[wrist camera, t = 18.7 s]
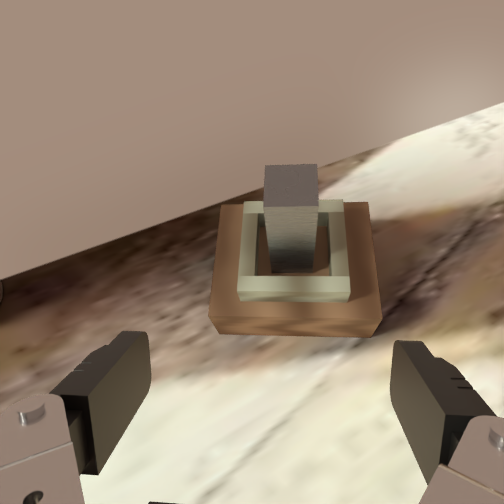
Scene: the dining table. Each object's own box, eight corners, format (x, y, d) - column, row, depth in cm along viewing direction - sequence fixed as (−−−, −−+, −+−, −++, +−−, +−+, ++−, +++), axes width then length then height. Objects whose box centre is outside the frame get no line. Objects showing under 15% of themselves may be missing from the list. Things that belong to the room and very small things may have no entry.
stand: (219, 334, 40) (202, 306, 32) (229, 233, 46) (217, 190, 39) (370, 337, 38) (388, 308, 31) (359, 232, 44) (372, 187, 37)
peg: (271, 273, 36) (263, 207, 27) (272, 238, 38) (265, 165, 29) (312, 273, 36) (318, 206, 26) (311, 238, 38) (317, 164, 28)
